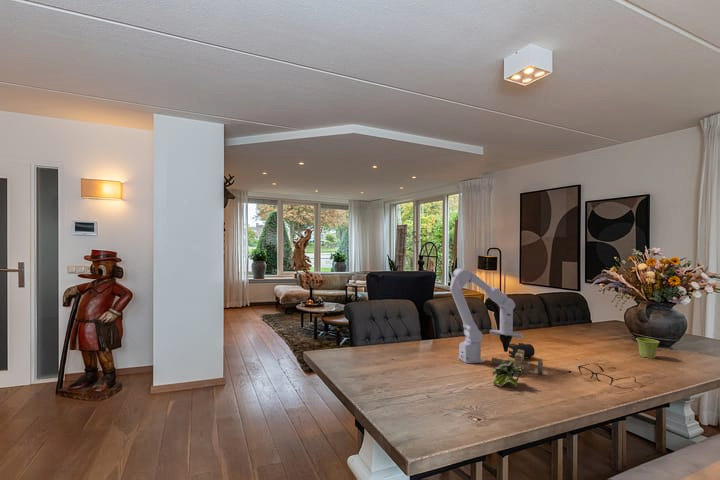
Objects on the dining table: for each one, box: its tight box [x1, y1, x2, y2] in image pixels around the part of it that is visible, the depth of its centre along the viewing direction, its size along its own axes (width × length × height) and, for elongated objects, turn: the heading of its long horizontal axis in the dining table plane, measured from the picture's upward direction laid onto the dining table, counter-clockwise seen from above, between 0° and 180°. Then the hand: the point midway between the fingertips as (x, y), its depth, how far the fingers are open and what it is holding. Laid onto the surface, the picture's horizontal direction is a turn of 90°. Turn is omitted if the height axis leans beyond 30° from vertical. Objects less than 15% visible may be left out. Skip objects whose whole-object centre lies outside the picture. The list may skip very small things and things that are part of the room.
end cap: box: [508, 342, 535, 360], centre depth 170 cm, size 10×7×7 cm
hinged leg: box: [514, 349, 525, 364], centre depth 159 cm, size 14×3×6 cm, turn 149°
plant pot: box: [635, 337, 660, 360], centre depth 178 cm, size 9×9×9 cm
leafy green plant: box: [491, 359, 524, 390], centre depth 134 cm, size 11×11×12 cm
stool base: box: [490, 357, 548, 378], centre depth 154 cm, size 22×22×6 cm
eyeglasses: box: [577, 363, 637, 386], centre depth 146 cm, size 16×16×4 cm
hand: (505, 351), depth 164 cm, fingers closed
